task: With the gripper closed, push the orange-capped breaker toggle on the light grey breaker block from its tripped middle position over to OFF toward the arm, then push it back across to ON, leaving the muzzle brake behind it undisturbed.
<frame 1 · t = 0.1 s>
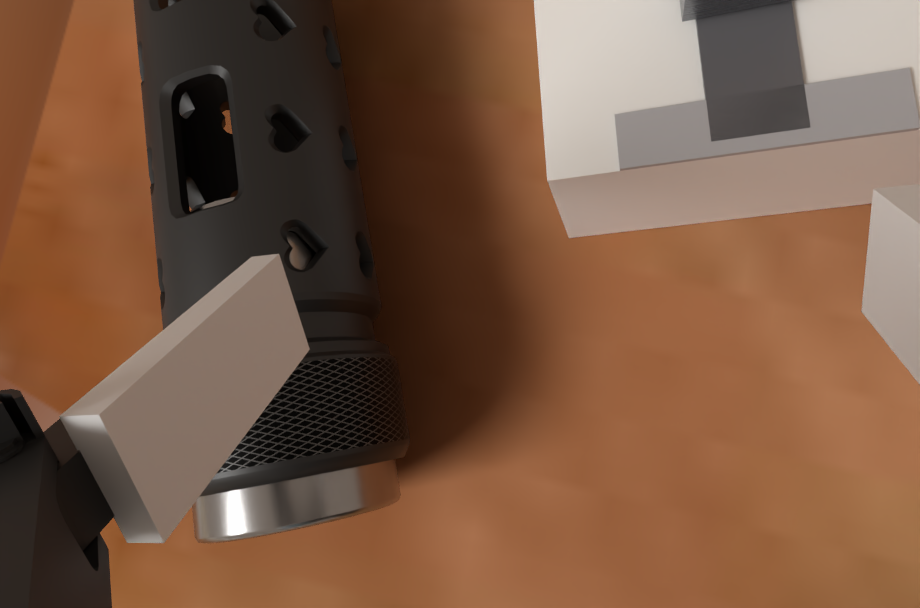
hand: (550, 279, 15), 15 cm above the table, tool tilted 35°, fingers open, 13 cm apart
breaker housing: (711, 95, 30), on the table
muzzle brake: (321, 231, 34), on the table
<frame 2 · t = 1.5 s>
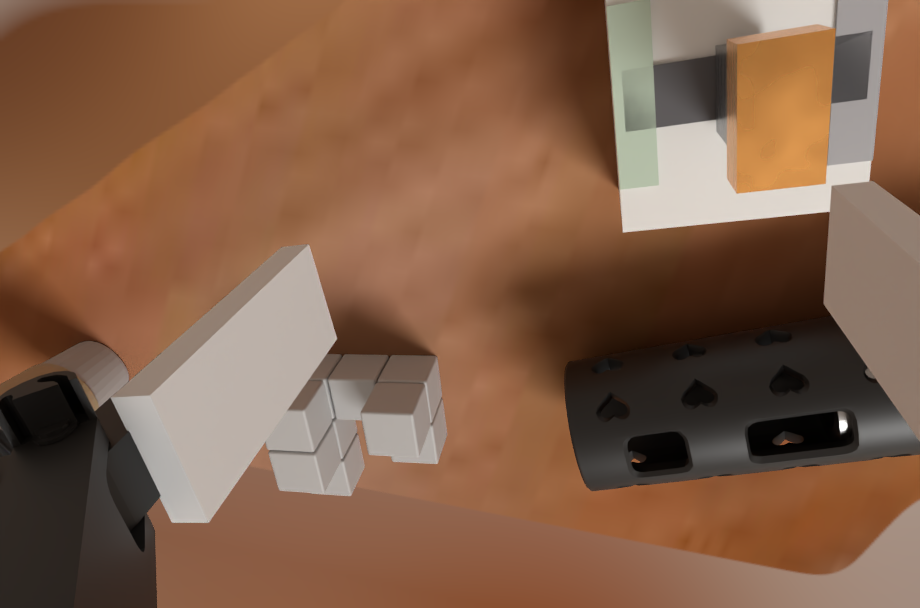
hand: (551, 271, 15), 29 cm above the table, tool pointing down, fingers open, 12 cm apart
breaker toggle: (760, 99, 27), point 12 cm above the table, slide at 0.0 cm
coffee cup: (100, 366, 59), on the table
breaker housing: (714, 63, 38), on the table
muzzle brake: (775, 347, 46), on the table
puzzle cube: (378, 411, 55), on the table
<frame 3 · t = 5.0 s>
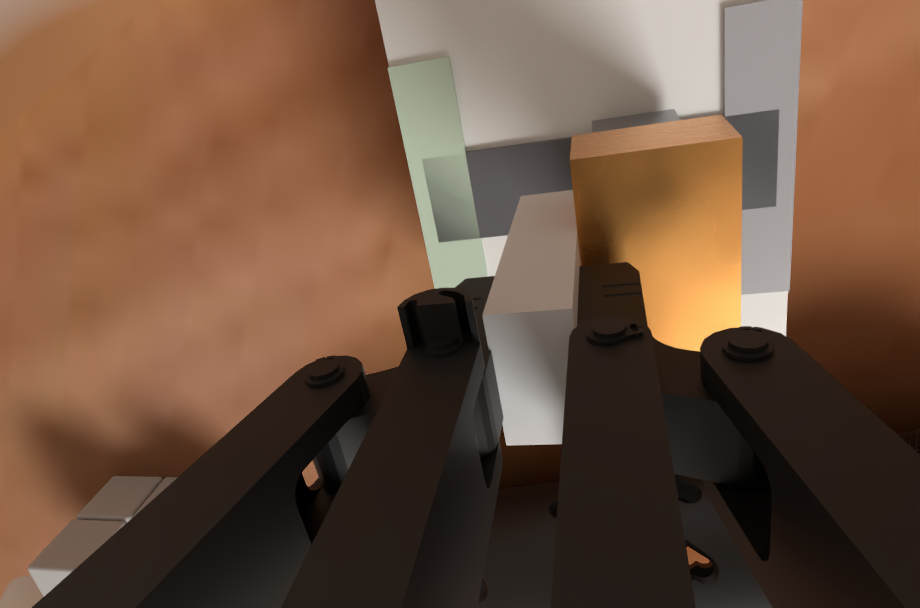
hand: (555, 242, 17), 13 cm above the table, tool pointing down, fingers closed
breaker toggle: (645, 219, 17), point 12 cm above the table, slide at -1.3 cm, touching gripper
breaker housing: (591, 128, 28), on the table
muzzle brake: (697, 476, 36), on the table
puzzle cube: (219, 539, 46), on the table
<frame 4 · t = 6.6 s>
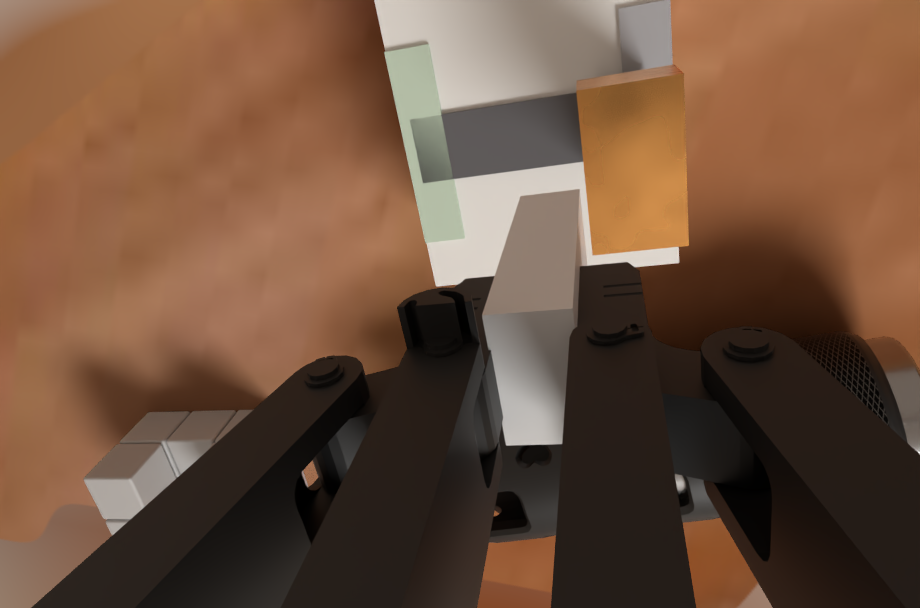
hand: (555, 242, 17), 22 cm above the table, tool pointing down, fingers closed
breaker toggle: (627, 144, 24), point 12 cm above the table, slide at -3.8 cm
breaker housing: (543, 102, 36), on the table
muzzle brake: (638, 391, 44), on the table
puzzle cube: (238, 466, 53), on the table
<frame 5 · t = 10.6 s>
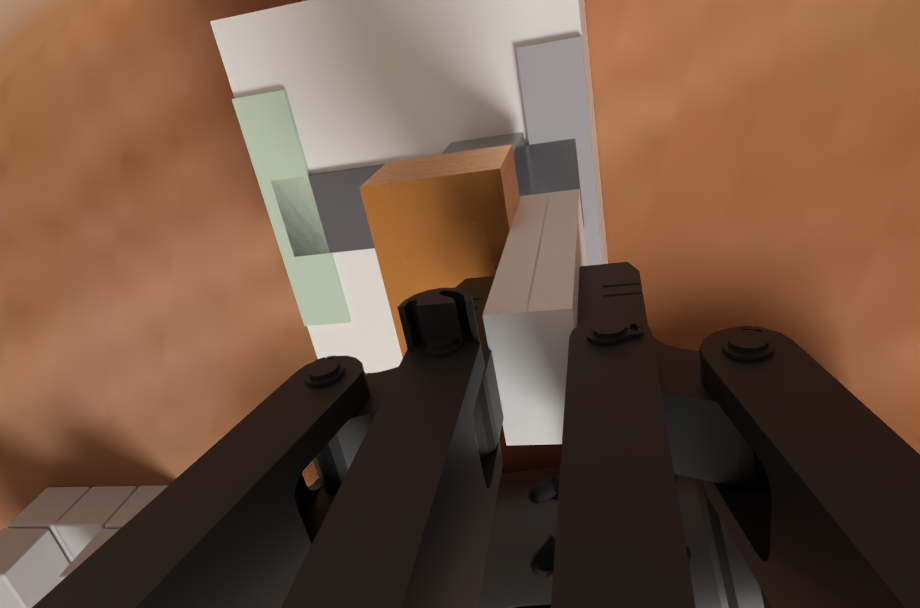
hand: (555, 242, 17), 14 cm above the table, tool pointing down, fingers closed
breaker toggle: (477, 236, 18), point 12 cm above the table, slide at -2.7 cm, touching gripper
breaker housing: (464, 147, 30), on the table
muzzle brake: (592, 475, 38), on the table
puzzle cube: (149, 543, 48), on the table
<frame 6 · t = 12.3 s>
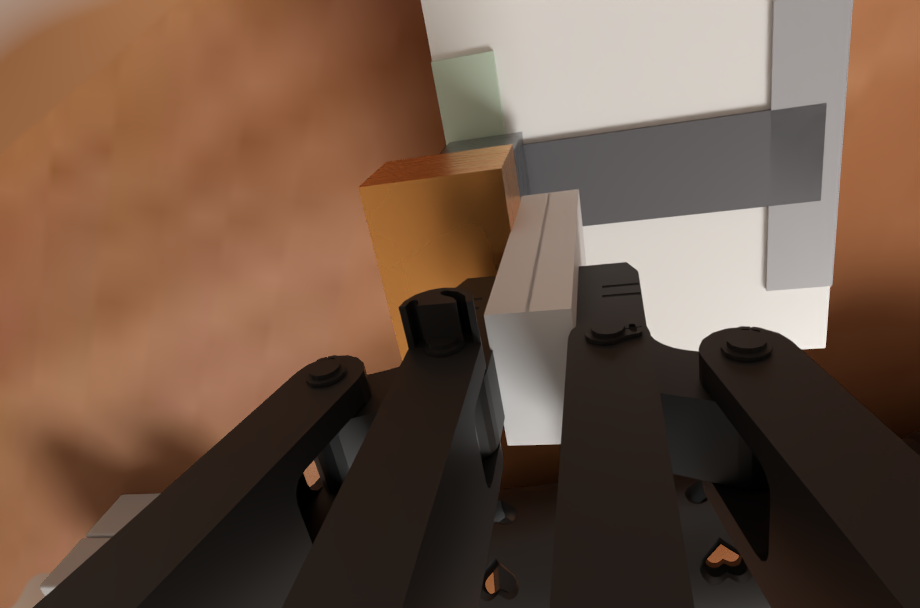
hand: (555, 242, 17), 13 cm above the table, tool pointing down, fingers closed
breaker toggle: (477, 236, 18), point 12 cm above the table, slide at 4.6 cm, touching gripper
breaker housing: (624, 124, 28), on the table
muzzle brake: (723, 474, 36), on the table
puzzle cube: (227, 551, 47), on the table
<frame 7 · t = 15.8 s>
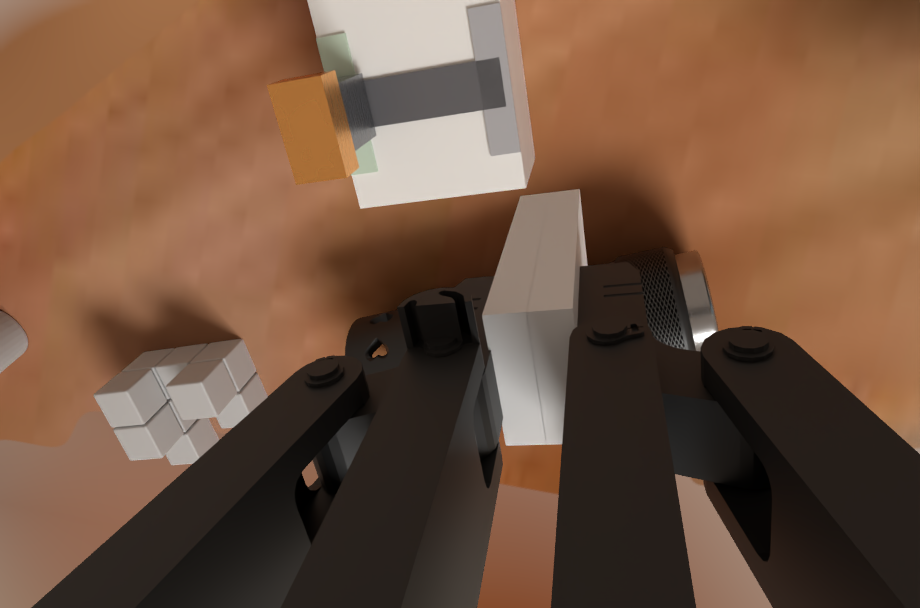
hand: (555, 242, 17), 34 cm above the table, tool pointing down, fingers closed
breaker toggle: (332, 119, 39), point 12 cm above the table, slide at 4.6 cm
coffee cup: (4, 331, 69), on the table
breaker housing: (444, 78, 49), on the table
muzzle brake: (531, 305, 57), on the table
puzzle cube: (216, 392, 68), on the table
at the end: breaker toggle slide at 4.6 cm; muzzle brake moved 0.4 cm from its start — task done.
